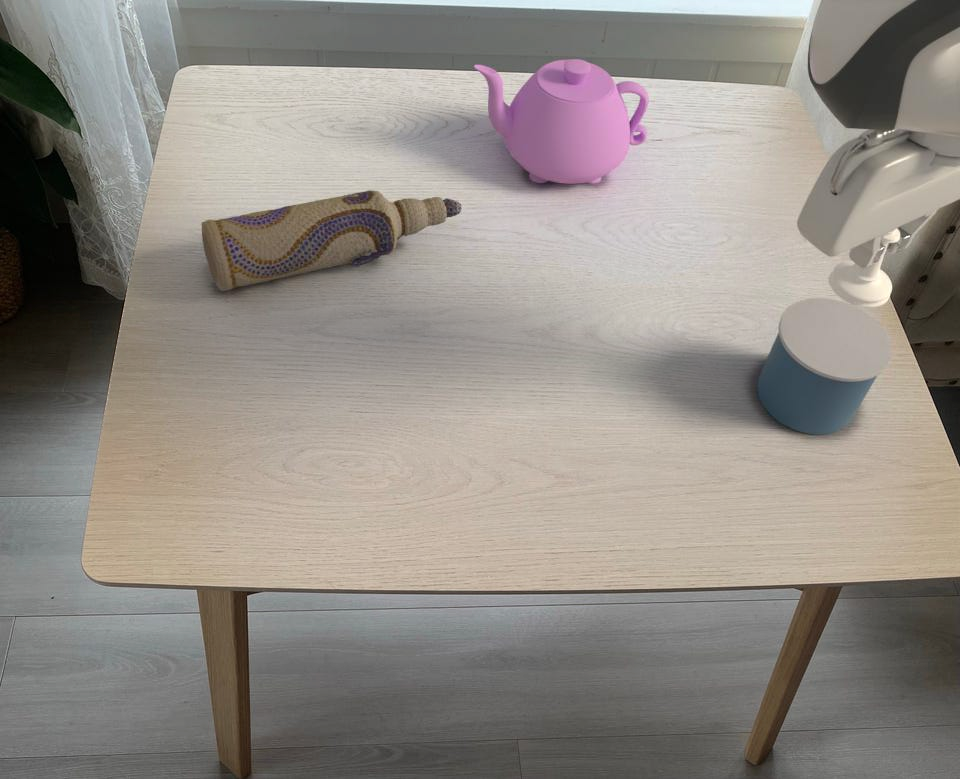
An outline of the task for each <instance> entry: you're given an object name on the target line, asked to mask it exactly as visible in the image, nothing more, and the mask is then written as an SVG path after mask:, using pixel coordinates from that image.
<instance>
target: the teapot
mask: <svg viewBox="0 0 960 779" xmlns="http://www.w3.org/2000/svg"><path fill="white" fill-rule="evenodd" d="M473 67H474V69H476V71H478V72H479V73H480V74H481V76H483V77H484V78H485V80H486V82H487V86H488V99H487V112H488V118H489V120H490V123H491V126H492V127H493V128H494V130H495V131H496V132H497V133H499V134H500V135H501V136H502V138H503V142H504V145H505V147H506V149H507V151H508V152H509V154H510V156H511V157H512V158H513V159H514V160H515V162H517V163H518V164H519V165H520V166H521V167H522V168H523V169H524V170H525V171H527V172H528V173H529V175H528V177H529V179H530V180H531V181H532V182H535V183H537V184H544V183H548V182H553V183H559V184H569V185H570V184H572V185H573V184H574V185H575V184H584V183H586V184H589V185H590V184H593V185H594V184H598V183H600V182H601V181H602V177H604V176H606V175H607V174H609V173H611V172H612V171H614V170H616V169H617V168H618V167H619V166H620V165H621V164H622V163H623V161H624V160H625V158H626V157H627V155H628V152H629V149H630V146H639V145H642V144H644V143H645V141H646V140H647V137H648V130H647V128H646V127H645V125H644V124H640V123H641V121H642V119H643V118H644V116H645V114H646V112H647V109H648V106H649V101H650V100H649V94H648V92H647V89H645V87H644V86H643V85H642V84H640V83H638V82H635V81H631V80H627V81H626V80H625V81H620V82H618V83H616V82H615V80H614V79H613V78H612V76H611V75H610V74H609V73H608V72H607V71H606V70H605V69H604V68H601V67H600V66H598V65H596V64H594V63H591V62H587V61H586V60H583V59H579V58H571V59H570V58H569V59H561V60H560V59H559V60H553V61H551V62H549V63H546V64H544V65H542V66H541V67H539V69H537V70H536V71H535V72H534V73H533V74H532V75H531V76H530V77H529V78H528V80H526V81H525V83H524V84H523V85H522V86H521V87H520V89H519V90H518V92H517V93H516V95H515V96H514V98H513V99H512V101H511V103H510V105H508V104H507V103H506V102H505V101H504V84H503V79H502V77H501V75H500V73H499V72H498V71H497V70H495V69H493V67H492V68H491V67H490V66H486V65H483V64H474V65H473ZM628 93H629V94H635V95H637V96H639V102H638V105H637V107H636V109H635V111H634V113H633V115H632V116H631V118H630V117H629V113H628V109H627V106H626V104H625V101H624V98H623V96H622V94H628ZM635 133H638V134H635Z"/></svg>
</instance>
